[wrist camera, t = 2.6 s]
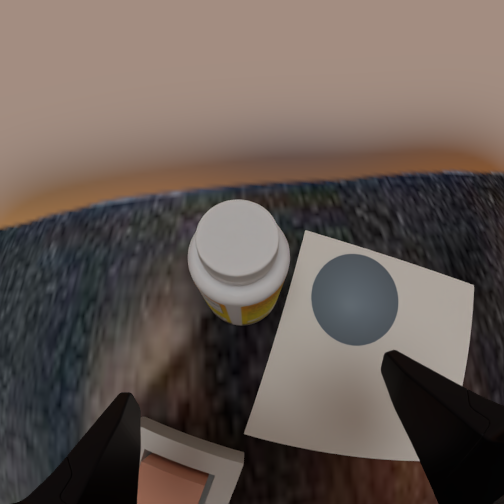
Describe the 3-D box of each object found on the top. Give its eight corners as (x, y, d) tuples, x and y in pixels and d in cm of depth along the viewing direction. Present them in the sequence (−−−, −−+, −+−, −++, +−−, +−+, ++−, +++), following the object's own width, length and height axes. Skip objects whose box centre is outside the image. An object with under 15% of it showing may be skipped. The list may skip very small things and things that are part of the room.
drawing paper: (472, 285, 24) (474, 285, 23) (440, 460, 18) (442, 461, 17) (305, 231, 26) (305, 229, 25) (243, 433, 19) (243, 434, 19)
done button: (209, 473, 16) (204, 485, 14) (193, 515, 15) (187, 530, 13) (152, 452, 17) (141, 461, 15) (139, 495, 15) (128, 506, 13)
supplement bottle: (283, 265, 24) (305, 196, 15) (270, 333, 22) (287, 305, 13) (215, 251, 25) (197, 177, 15) (197, 317, 23) (163, 279, 13)
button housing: (244, 452, 19) (243, 463, 16) (214, 528, 16) (210, 545, 13) (144, 416, 20) (130, 421, 17) (121, 493, 17) (107, 505, 14)
